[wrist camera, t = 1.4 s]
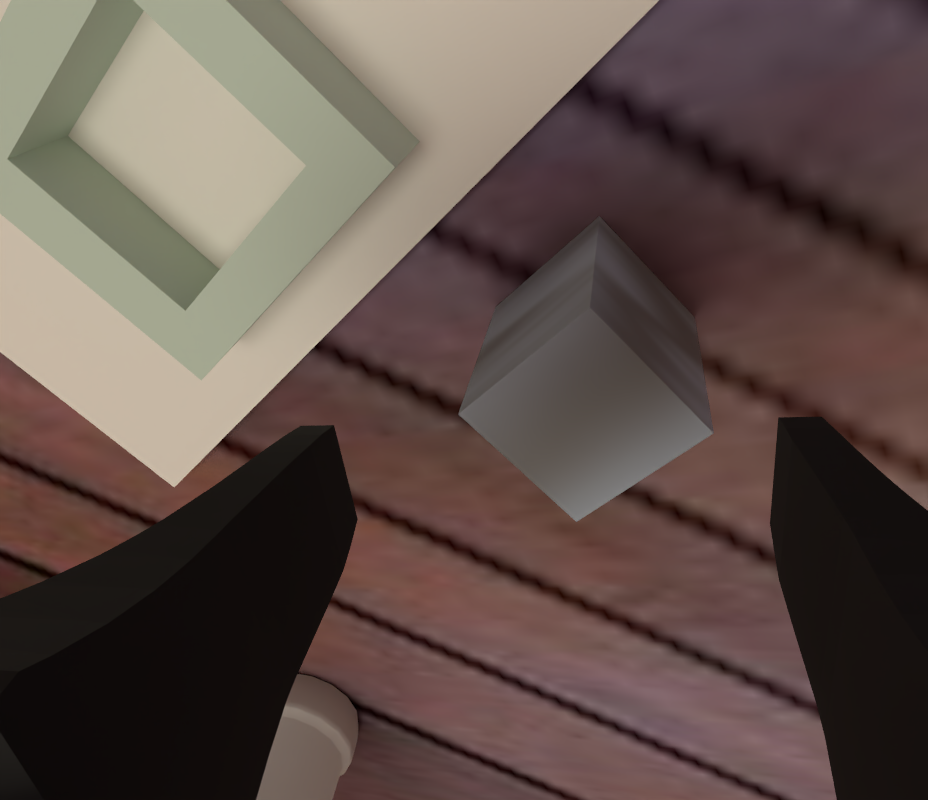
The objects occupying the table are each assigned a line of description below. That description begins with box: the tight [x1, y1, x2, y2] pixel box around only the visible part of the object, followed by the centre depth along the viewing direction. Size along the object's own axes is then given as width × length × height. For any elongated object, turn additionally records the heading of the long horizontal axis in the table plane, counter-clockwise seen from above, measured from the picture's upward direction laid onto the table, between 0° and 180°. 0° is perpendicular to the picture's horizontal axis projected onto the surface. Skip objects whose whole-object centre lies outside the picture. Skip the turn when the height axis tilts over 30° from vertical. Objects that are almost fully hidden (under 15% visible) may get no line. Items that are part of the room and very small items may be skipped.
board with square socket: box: [0, 0, 659, 487], centre depth 20 cm, size 12×22×4 cm, turn 137°
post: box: [459, 216, 714, 522], centre depth 20 cm, size 4×4×6 cm
